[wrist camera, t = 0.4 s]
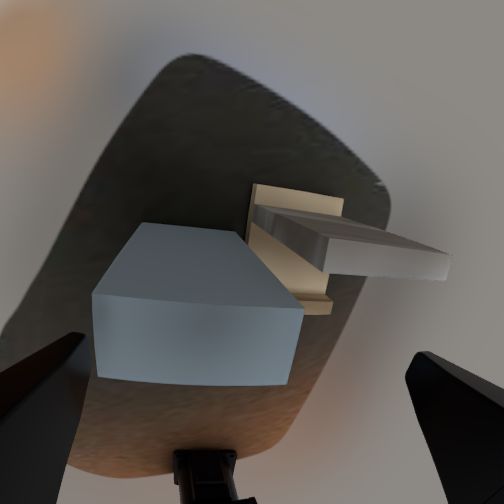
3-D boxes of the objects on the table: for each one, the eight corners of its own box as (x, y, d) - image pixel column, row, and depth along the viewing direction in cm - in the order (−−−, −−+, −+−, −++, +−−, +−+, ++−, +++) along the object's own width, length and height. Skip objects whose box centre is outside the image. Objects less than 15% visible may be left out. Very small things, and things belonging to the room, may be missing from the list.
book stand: (314, 308, 25) (401, 399, 13) (235, 305, 23) (285, 417, 12) (336, 197, 23) (458, 226, 12) (253, 183, 21) (336, 199, 10)
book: (229, 272, 23) (286, 384, 10) (139, 264, 21) (97, 376, 9) (235, 231, 22) (305, 308, 10) (142, 222, 20) (91, 293, 8)
